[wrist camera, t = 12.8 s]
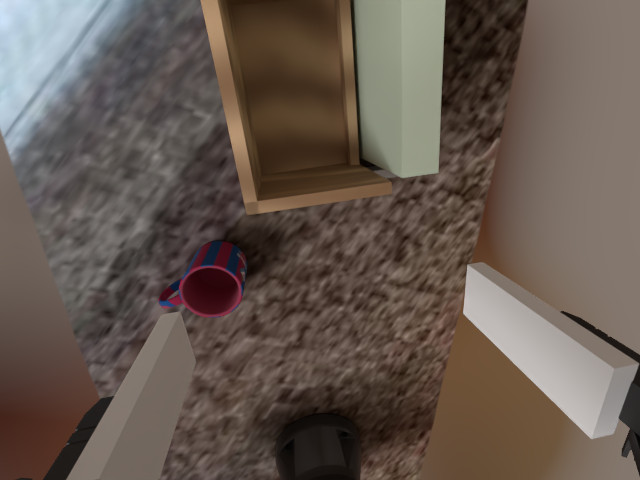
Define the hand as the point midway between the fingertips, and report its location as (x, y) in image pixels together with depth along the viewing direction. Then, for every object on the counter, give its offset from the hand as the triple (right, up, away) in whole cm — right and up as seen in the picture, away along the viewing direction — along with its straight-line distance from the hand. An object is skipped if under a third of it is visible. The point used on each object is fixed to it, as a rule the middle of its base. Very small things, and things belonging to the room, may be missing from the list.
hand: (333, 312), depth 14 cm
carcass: (-1, +20, +20) cm, 28 cm away
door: (+5, +21, +20) cm, 29 cm away
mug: (-15, 0, +26) cm, 30 cm away
